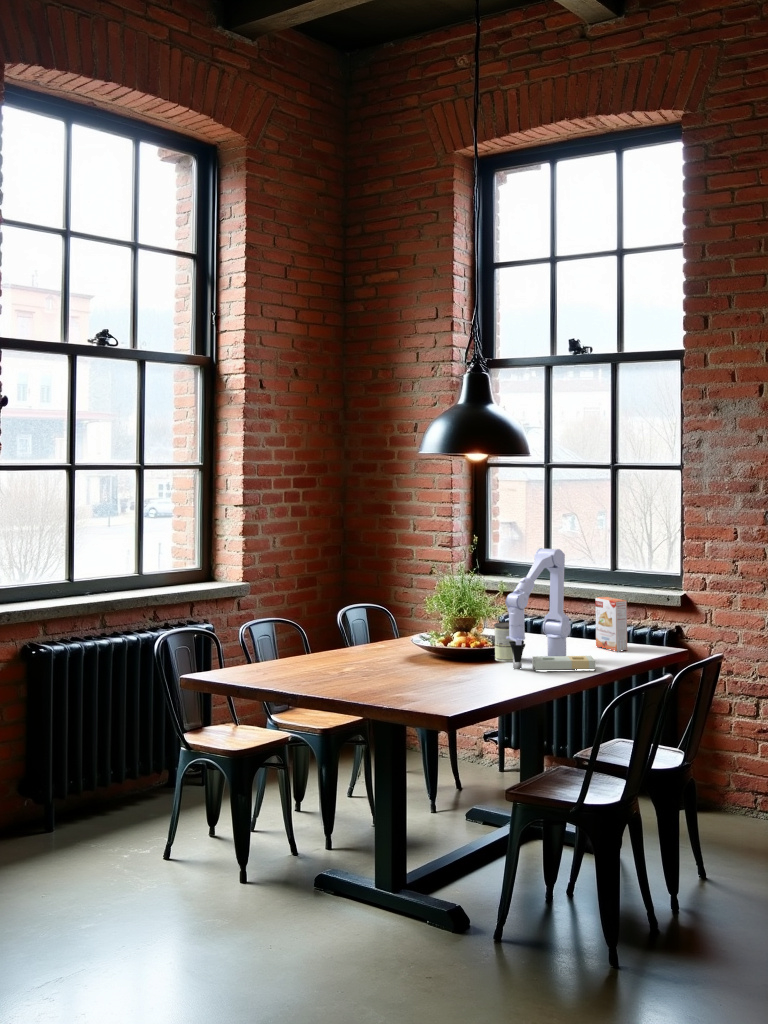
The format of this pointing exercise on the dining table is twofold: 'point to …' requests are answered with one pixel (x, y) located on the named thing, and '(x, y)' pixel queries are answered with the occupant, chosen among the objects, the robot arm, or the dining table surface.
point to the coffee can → (502, 643)
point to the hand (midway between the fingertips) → (517, 661)
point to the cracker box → (611, 623)
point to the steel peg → (517, 664)
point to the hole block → (563, 662)
